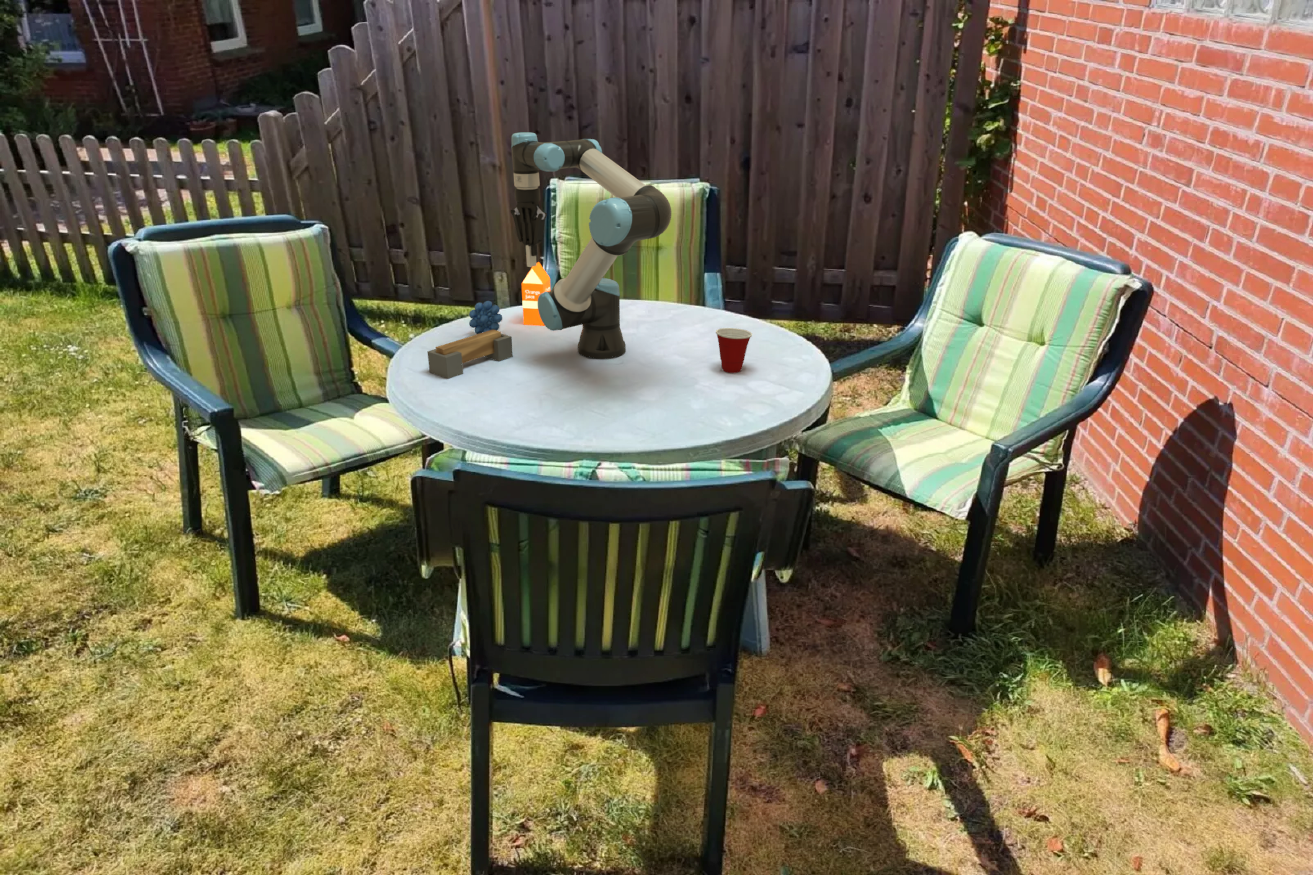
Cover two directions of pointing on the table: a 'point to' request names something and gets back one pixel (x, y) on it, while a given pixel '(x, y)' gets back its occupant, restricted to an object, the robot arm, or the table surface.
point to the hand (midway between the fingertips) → (531, 265)
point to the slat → (472, 346)
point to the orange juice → (534, 294)
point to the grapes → (485, 317)
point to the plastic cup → (732, 348)
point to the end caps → (453, 361)
